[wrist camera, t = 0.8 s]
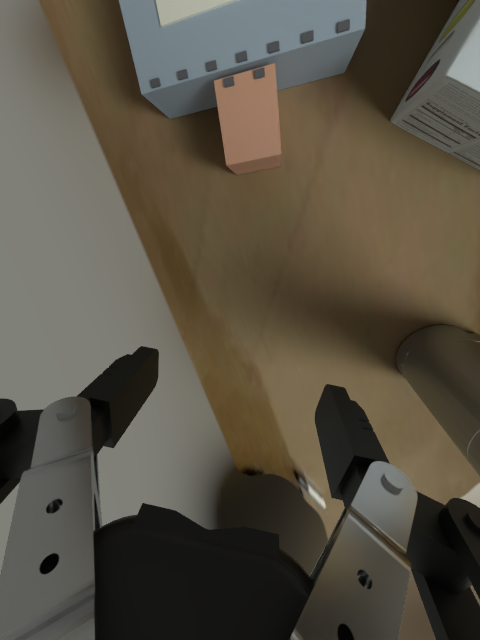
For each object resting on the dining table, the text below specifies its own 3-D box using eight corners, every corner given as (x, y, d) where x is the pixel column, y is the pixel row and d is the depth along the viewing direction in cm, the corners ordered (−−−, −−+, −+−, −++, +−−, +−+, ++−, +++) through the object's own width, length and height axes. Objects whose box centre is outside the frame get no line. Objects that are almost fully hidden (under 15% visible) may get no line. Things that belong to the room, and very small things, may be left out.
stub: (276, 97, 24) (274, 61, 18) (280, 166, 26) (281, 153, 21) (227, 109, 25) (213, 79, 19) (236, 175, 27) (225, 165, 22)
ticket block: (347, -95, 19) (376, -227, 13) (344, 72, 22) (366, 26, 17) (142, -14, 22) (95, -90, 17) (170, 119, 26) (140, 93, 20)
